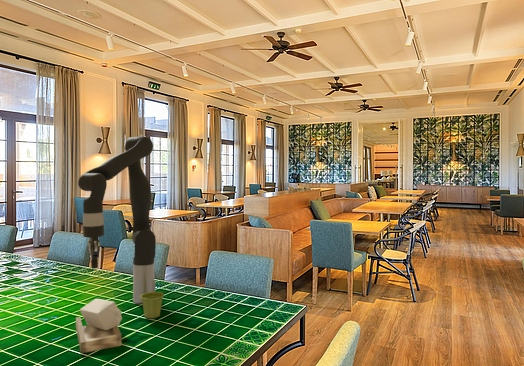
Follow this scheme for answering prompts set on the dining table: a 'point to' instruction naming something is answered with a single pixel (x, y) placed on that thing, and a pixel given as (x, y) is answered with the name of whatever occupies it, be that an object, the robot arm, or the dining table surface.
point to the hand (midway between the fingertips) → (94, 267)
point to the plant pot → (152, 304)
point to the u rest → (96, 337)
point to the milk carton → (101, 314)
